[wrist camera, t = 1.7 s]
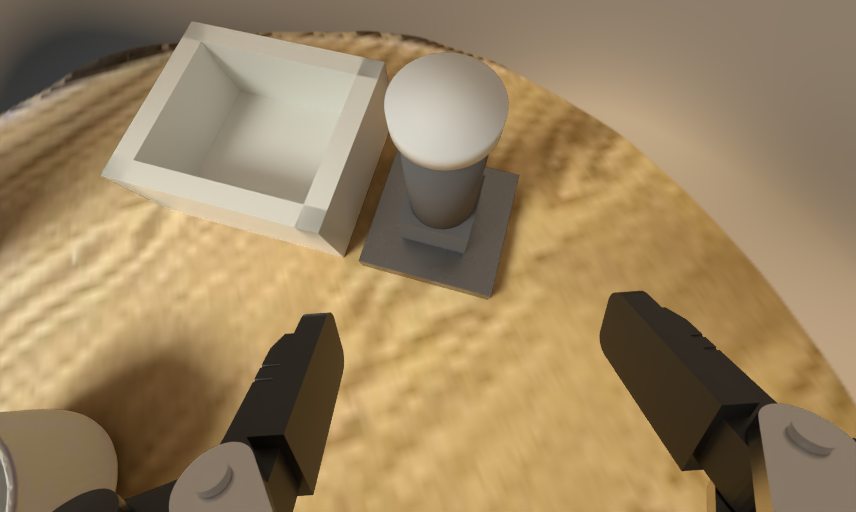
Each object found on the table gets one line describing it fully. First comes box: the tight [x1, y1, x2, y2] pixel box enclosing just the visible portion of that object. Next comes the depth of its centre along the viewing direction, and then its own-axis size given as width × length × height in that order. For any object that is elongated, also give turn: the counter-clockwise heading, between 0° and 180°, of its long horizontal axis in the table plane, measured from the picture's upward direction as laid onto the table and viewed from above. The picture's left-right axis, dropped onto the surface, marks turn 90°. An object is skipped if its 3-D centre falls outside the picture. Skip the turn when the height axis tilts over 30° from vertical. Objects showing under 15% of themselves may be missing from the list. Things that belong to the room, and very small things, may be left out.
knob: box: [384, 52, 509, 253], centre depth 19 cm, size 5×5×12 cm
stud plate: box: [359, 149, 519, 300], centre depth 24 cm, size 10×10×4 cm
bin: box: [101, 21, 389, 257], centre depth 25 cm, size 16×14×6 cm
